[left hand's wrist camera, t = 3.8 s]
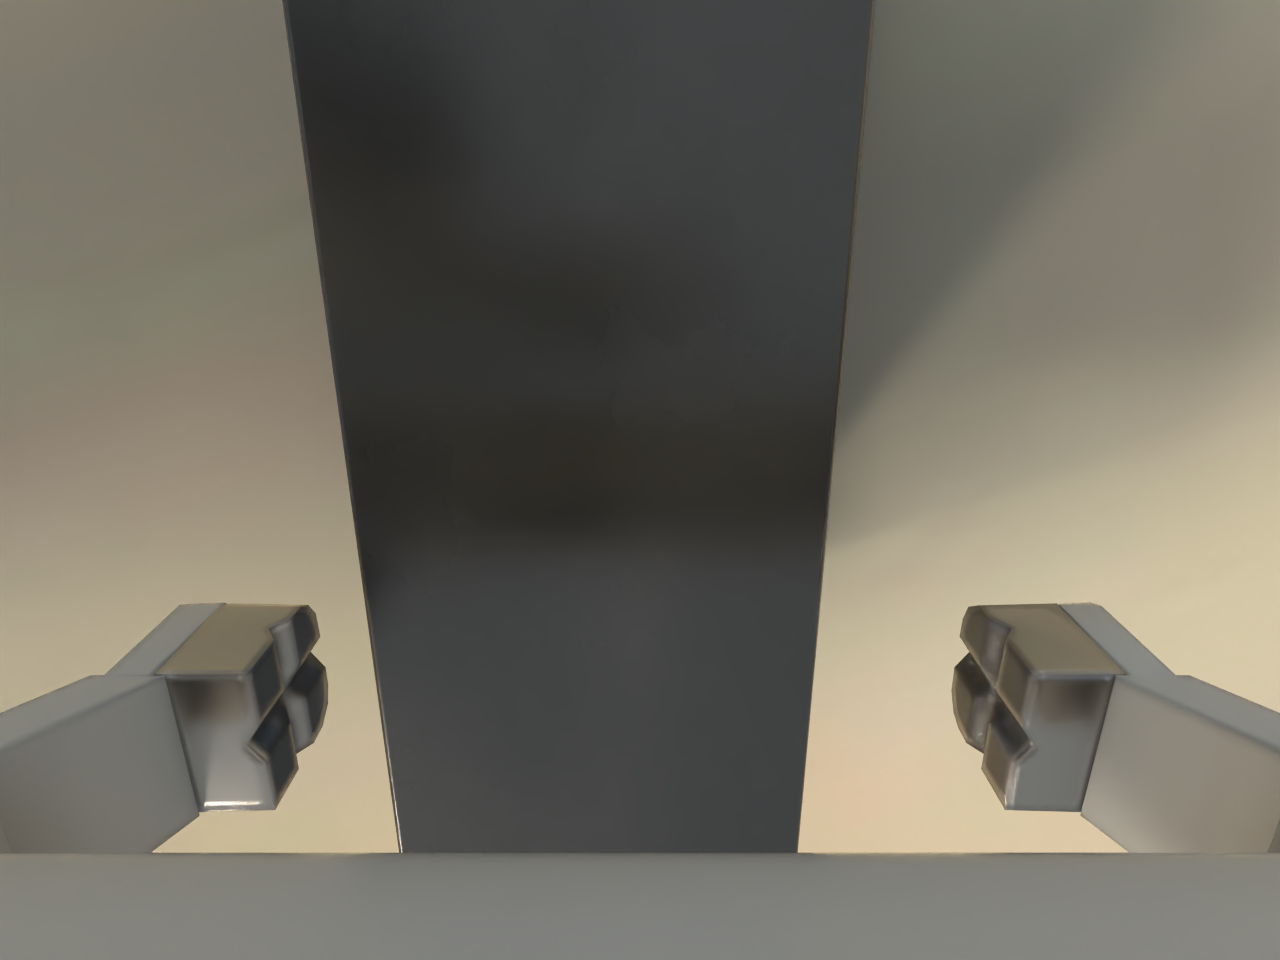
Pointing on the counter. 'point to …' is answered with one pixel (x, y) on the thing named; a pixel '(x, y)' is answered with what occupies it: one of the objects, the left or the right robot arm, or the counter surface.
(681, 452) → the box
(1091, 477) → the counter surface
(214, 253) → the counter surface
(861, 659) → the counter surface
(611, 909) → the left robot arm
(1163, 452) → the counter surface
